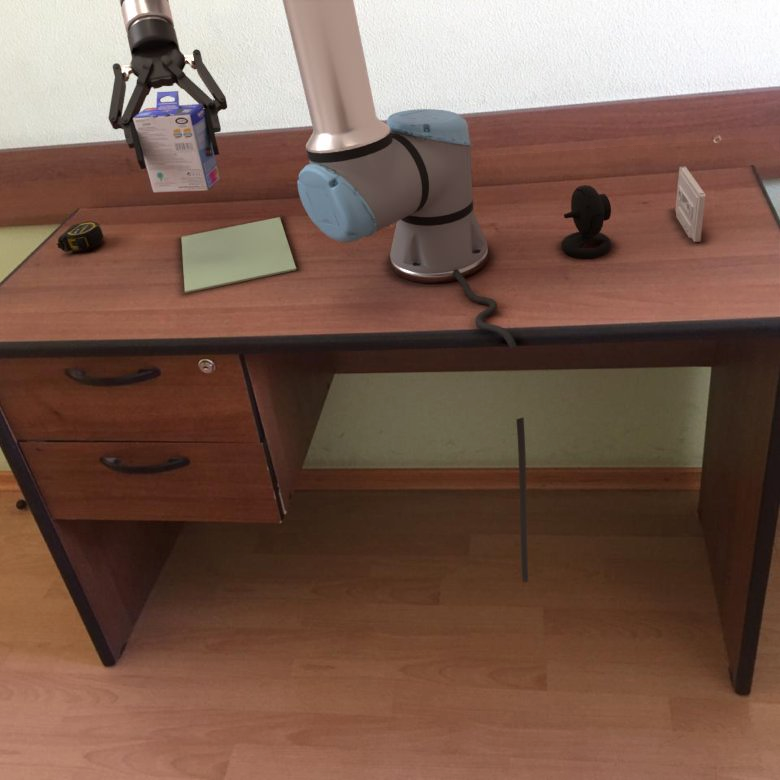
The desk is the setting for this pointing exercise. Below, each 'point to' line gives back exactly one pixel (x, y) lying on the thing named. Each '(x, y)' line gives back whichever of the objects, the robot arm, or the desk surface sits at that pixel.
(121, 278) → the desk surface
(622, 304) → the desk surface
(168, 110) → the ink cartridge box
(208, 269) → the mat
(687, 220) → the cassette
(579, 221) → the webcam
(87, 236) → the tape measure
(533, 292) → the desk surface
